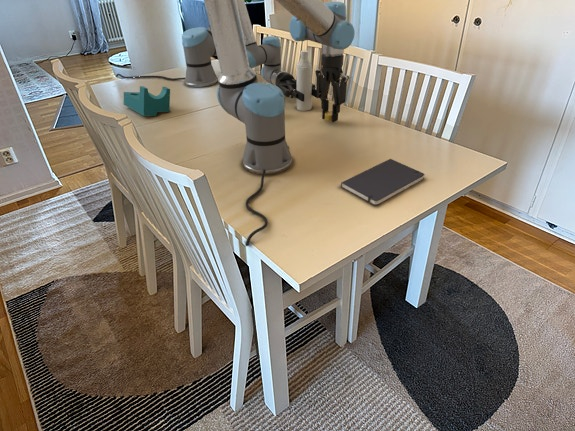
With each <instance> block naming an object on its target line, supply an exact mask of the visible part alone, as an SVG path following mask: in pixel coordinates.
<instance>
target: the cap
mask: <svg viewBox="0 0 575 431" xmlns="http://www.w3.org/2000/svg"><path fill="white" fill-rule="evenodd" d="M324 120H325V121H327V122H332V110H329V111H327V112H325V119H324Z"/></svg>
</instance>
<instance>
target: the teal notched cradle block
mask: <svg viewBox="0 0 575 431" xmlns="http://www.w3.org/2000/svg"><path fill="white" fill-rule="evenodd" d="M123 105H124V106H126V107H128V109H131V110H133V111H134V112H136V113H138V114H139V115H141V116H143V117H156V116H158V113H170V109H171V108H170V105H171V88H169V87H166V86H162V87H161V91H160V93H159V94H158V95H155V94H153V93H151V92H149V89H148V88H147V87H145V86H141V85H140V86H139V91H123Z"/></svg>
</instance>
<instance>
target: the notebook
mask: <svg viewBox="0 0 575 431" xmlns="http://www.w3.org/2000/svg"><path fill="white" fill-rule="evenodd" d="M424 176H425V173H424V172H422V171H420V170H417V169H415V168H413V167H410V166H408V165H406V164H404V163H401V162H399V161H397V160H395V159H393V158H389V159H387V160H385V161H382V162H380V163H379V164H377V165H375V166H372V167H370V168H368V169H366V170H364V171H362V172H360V173H358V174H356V175H353V176H351V177H350V178H348V179H345V180H344V181H341V182H340V183H341V184H340V187H341V188H342V189H344V190H345V191H347V192H349V193H350V194H353V195H355V196H356V197H358V198H360V199H362V200H363V201H365V202H367V203H369V204H371V205H373V206H379V205H381V204H382V203H384V202H386V201H388V200H390V199H391V198H393V197H395V196H397V195H398V194H400V193H402V192H404V191H406V190H407V189H409V188H411V187H413V186H415V185H416V184H418V183H420V182H422V181H423V180H424Z"/></svg>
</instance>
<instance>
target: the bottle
mask: <svg viewBox="0 0 575 431" xmlns="http://www.w3.org/2000/svg"><path fill="white" fill-rule="evenodd" d="M299 54H300V59H299V61H298V63H297V64H296V68H295V69H296V70H295V71H296V74H295V76H296V79H295V80H297V91H299V92H301V93H303V94H304V101H303V102H302V101H301V100H299V99H297V98H296V110H298V111H301V112H304V111H305V112H307V111H310V110H311V109H312V107H313V106H312V100H313V99H312V98H313V96H312V84H313V66H312V64H311V62H310V60H309V51H308V50H306V49H303V50H300V53H299Z"/></svg>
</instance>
